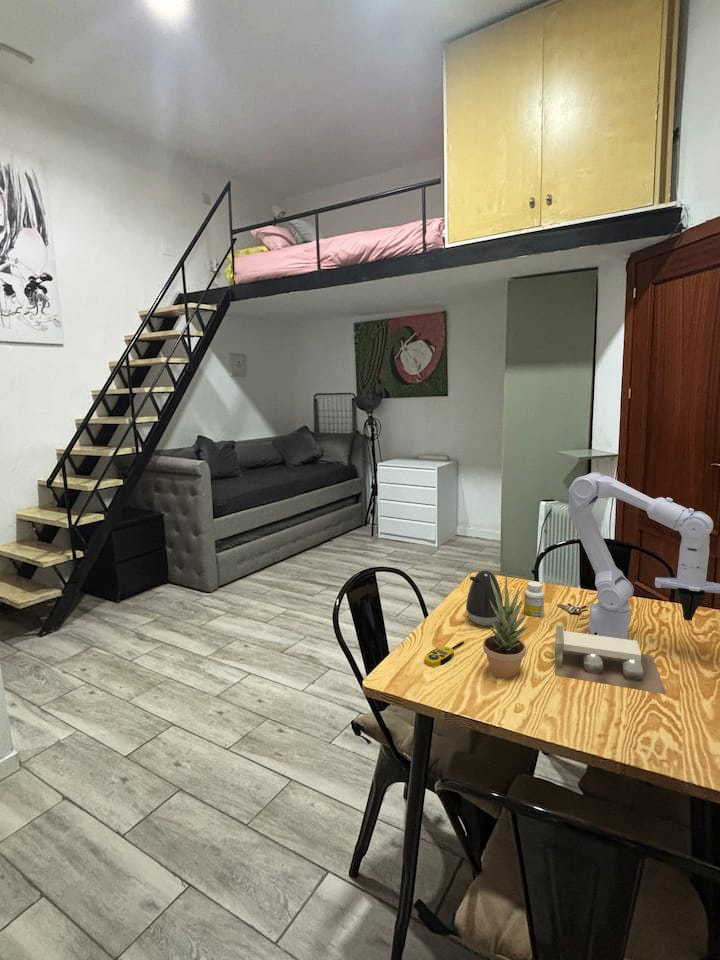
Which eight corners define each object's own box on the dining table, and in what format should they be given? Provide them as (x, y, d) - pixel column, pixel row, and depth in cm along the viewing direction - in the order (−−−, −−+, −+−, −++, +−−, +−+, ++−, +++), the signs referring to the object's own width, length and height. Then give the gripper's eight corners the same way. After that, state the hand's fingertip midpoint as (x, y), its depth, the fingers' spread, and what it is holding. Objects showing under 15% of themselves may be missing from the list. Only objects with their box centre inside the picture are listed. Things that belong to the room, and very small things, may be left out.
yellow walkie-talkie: (420, 656, 124) (455, 634, 134) (420, 663, 124) (455, 641, 135) (436, 663, 121) (471, 640, 131) (436, 670, 121) (471, 647, 131)
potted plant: (474, 668, 121) (476, 568, 117) (506, 659, 125) (509, 562, 121) (501, 690, 112) (505, 583, 108) (535, 680, 116) (540, 576, 112)
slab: (563, 649, 119) (563, 643, 119) (563, 636, 126) (563, 630, 126) (640, 661, 114) (641, 655, 113) (636, 646, 120) (637, 640, 120)
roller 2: (634, 683, 113) (619, 671, 114) (628, 661, 123) (614, 650, 123) (647, 672, 112) (632, 660, 113) (641, 651, 121) (626, 639, 122)
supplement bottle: (529, 609, 153) (530, 578, 151) (546, 615, 149) (548, 583, 147) (520, 615, 149) (521, 583, 147) (537, 621, 145) (539, 588, 144)
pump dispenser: (458, 618, 148) (458, 568, 145) (486, 611, 152) (487, 562, 150) (481, 633, 139) (482, 579, 136) (510, 624, 143) (512, 573, 141)
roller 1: (596, 677, 116) (580, 666, 117) (593, 656, 125) (578, 646, 126) (607, 664, 115) (590, 653, 116) (603, 644, 124) (588, 634, 125)
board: (554, 679, 116) (556, 650, 115) (555, 644, 132) (556, 619, 131) (665, 698, 108) (668, 667, 107) (652, 659, 124) (654, 632, 123)
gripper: (660, 566, 119) (655, 621, 121) (735, 573, 113) (728, 630, 116) (655, 557, 125) (650, 609, 127) (725, 563, 120) (719, 617, 122)
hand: (687, 618), depth 122 cm, fingers closed
